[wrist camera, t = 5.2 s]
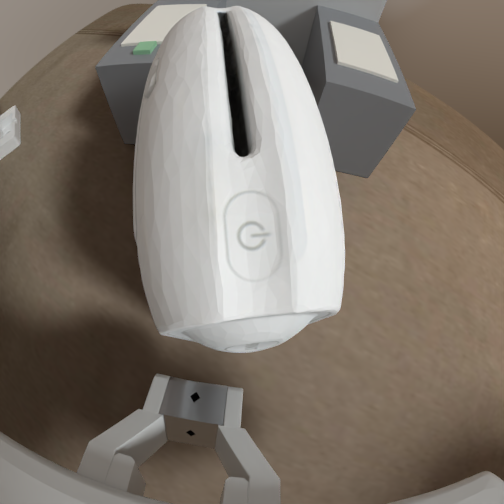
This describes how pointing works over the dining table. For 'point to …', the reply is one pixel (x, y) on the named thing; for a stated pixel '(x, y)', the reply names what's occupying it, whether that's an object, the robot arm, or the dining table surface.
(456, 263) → the dining table surface
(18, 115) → the security camera
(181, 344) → the dining table surface
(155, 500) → the robot arm
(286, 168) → the photo printer
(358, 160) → the module bay
